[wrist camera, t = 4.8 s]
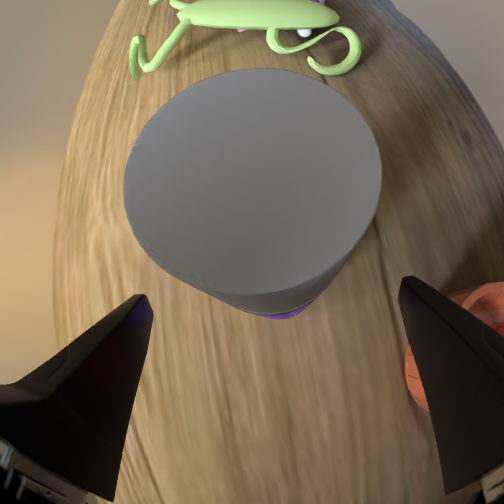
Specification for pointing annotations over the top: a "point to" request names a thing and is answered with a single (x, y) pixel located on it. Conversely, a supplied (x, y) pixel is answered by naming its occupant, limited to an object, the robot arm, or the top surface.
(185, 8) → the figurine
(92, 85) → the top surface
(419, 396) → the orange-brown bowl
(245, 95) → the container
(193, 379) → the top surface
